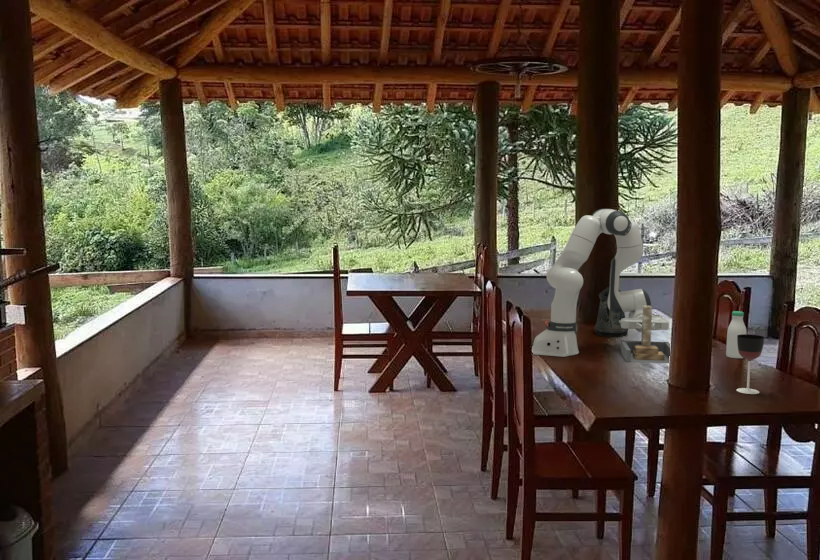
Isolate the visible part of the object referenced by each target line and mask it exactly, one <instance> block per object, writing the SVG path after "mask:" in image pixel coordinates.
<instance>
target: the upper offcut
mask: <svg viewBox="0 0 820 560" xmlns="http://www.w3.org/2000/svg"><path fill="white" fill-rule="evenodd" d="M634 352H635V353H636V354H658V348H657V347H656V346H634Z"/></svg>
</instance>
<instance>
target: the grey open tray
mask: <svg viewBox="0 0 820 560" xmlns="http://www.w3.org/2000/svg"><path fill="white" fill-rule="evenodd" d="M670 344H671V343H670V342H669V341H651V344H650V346H656V347H657V348H658V352H663V353H664V355H665V358H664V360H636V359H634V358H633V351H634V346H641V341H640V340H620V354H621V355H622V357H623V359H624V360H625V362H626V363H645V364H653V363H654V364H670V363H669V356H670Z"/></svg>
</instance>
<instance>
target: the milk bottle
mask: <svg viewBox="0 0 820 560" xmlns="http://www.w3.org/2000/svg"><path fill="white" fill-rule="evenodd" d="M744 314H745V313H744V312H743V311H740V310H739V311H738V310H733V311H732V312H731V321H730V323H729V325H728V328H727V332H726V333H727V334H726V348H725V349H726V350H725V356H726V357H727V358H731V359H744V358H743V357H742V356H741V355H740V354H739V351H738V344H737V335H742V334H747V332H748V331H747V327H746V325H745V322H744Z"/></svg>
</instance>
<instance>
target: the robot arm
mask: <svg viewBox="0 0 820 560" xmlns="http://www.w3.org/2000/svg"><path fill="white" fill-rule="evenodd" d="M602 233H603V234H606V235H614V237H615V240H616V248H617V249H616V254H615V256H614V257H613V258H612V259H611V261H610V269H609V282H608V284H609V285H608V286H609V296H608V308H609V310H610V311H611V312H613V313H615V314H620V313H623V312H624V313H628V318H627V317H625V318H622V319H621V321H619V323H621V328H627V329H628V330H629V329H630V330H631V329H632V330H633V329H634V330H636V331H638V332H640V333H642V329H643V324H642V316H643V305H645V306H651V307H652V302H651V298H650V295H649V293H648V291H646V290H645V289H643V288H636V289H631V290H623V291H621V292H619V291H618V290H619V284H620V276H621V274H622V273H623V272H624V270H626V269H627V268H629V267H631V266H632V267H633V265H635V264H636V263H638V262H639V261H640V260H641V259H642V257H643V254H644V250H643V249H644V248H643V247H644V246H643V240H642V235H641V231H640V228H639V225H638V223H637V222H635V221H633V220H630V218H629V215H627V214H626V213H625V212H623V211H620V210H616V209H612V208H600V209H597V210H595V211H594V212H592V214H591V215H588V214H586V215H583V216H582V217H581V218H580V219H579V220H578V221H577V223H576V225H575V226H574V228H573V229H572V232H571V234H570V236H569V238H568V241H567V243H566V244H565V246H564V249H563V251H562V252H561V253H560V255H559V257H558V258H557V260H556V261H555V262H554V264H553V265H552V266H551V267H550V268H549V269H548V270H547V272H546V280H547V283H548V284H549V286H551V287H552V288H554V289H555V291H554V297H553V300H552V301H551V304H550V320H549V319H548V320H546V321H545V322H544V323H545V326H546V327H545V329H544V330H543V331H542V332H540V333H539V334H537V335H536V336H535V338H534V340H533V343H532V350H533V354H532V355H535V356H536V355H537V356H548V357H549V356H550V357H562V358H563V357H564V358H565V357H569V356H575V355H578V354H579V353H580V351H579V347H578V341H577V340H578V339H577V333H578V322H577V305H578V301H579V295H580V291H581V289H582V287H583V285H584V278H583V275H582V274H581V273H580V272H579V269H580V268H581V267H582V266H583V265H584V263H585V262H587V261H588V259H589V257H590V254H591V252H592V250H593V248H594V245H595V244H596V241H597V239H598V237H599V236H600V234H602ZM669 328H670V322H669V321H668V319H666V318H664V316H663V315H661V314H654V313H652V322H651V331H661V330H662V331H668V330H669Z"/></svg>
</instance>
